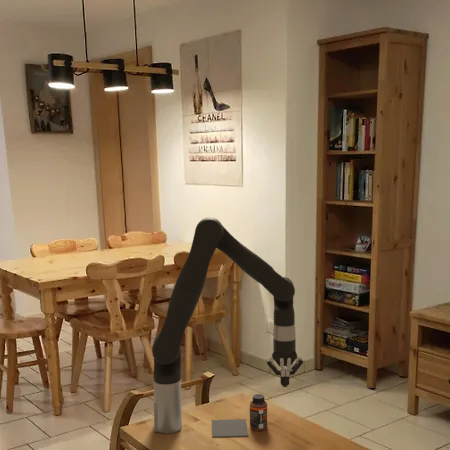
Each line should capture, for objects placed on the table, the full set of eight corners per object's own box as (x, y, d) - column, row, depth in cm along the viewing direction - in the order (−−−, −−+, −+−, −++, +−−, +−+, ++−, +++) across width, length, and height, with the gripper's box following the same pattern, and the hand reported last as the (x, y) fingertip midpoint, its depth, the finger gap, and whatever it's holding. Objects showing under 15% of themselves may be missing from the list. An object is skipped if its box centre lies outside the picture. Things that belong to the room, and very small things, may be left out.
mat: (212, 437, 186) (212, 436, 186) (211, 421, 198) (211, 420, 198) (248, 436, 187) (248, 435, 187) (245, 420, 198) (245, 419, 198)
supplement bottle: (266, 432, 189) (265, 400, 188) (248, 431, 190) (248, 399, 189) (268, 424, 195) (268, 393, 194) (251, 423, 196) (251, 392, 195)
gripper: (266, 341, 186) (266, 391, 187) (305, 339, 186) (306, 389, 188) (263, 334, 193) (264, 382, 195) (301, 332, 193) (302, 381, 195)
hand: (284, 386), depth 191 cm, fingers closed
